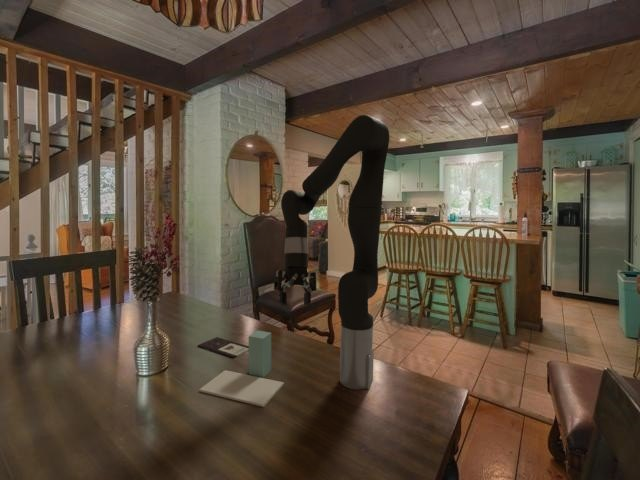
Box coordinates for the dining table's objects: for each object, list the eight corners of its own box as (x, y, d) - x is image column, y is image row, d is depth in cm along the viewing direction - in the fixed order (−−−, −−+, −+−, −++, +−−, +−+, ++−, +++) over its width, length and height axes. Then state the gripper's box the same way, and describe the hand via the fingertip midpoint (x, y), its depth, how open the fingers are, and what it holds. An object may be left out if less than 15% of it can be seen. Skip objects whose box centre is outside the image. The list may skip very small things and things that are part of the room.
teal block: (271, 369, 103) (271, 332, 102) (263, 377, 99) (263, 338, 97) (257, 366, 105) (257, 330, 104) (248, 374, 100) (248, 336, 99)
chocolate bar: (216, 337, 127) (251, 347, 118) (216, 339, 127) (252, 349, 118) (197, 345, 120) (233, 356, 111) (197, 347, 120) (233, 359, 111)
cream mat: (283, 384, 95) (283, 382, 95) (263, 406, 84) (263, 404, 84) (225, 372, 101) (225, 370, 101) (199, 391, 90) (199, 389, 90)
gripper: (283, 249, 97) (281, 306, 94) (321, 253, 105) (321, 305, 103) (270, 252, 103) (269, 305, 100) (308, 255, 111) (307, 304, 108)
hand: (295, 305), depth 101 cm, fingers open, 8 cm apart
